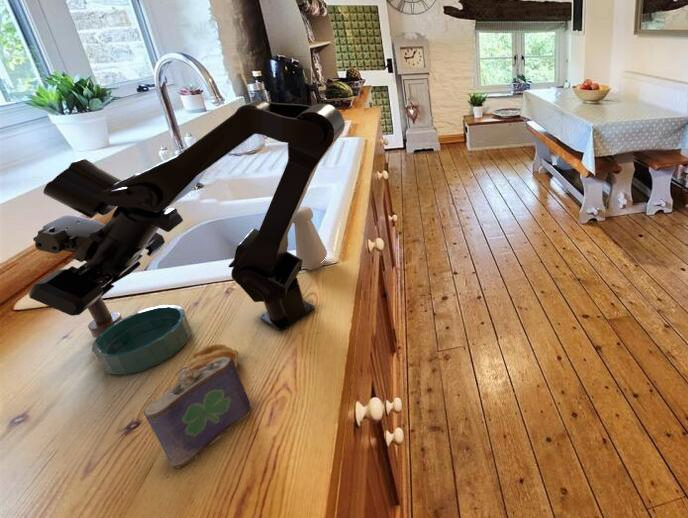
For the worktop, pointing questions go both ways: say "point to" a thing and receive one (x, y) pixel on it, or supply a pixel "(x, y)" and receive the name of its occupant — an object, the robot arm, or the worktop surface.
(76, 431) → the worktop surface
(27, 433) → the worktop surface
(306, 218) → the salt shaker
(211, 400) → the flask
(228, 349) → the pastry
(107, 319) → the brown wooden peg
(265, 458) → the worktop surface
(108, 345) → the bowl
